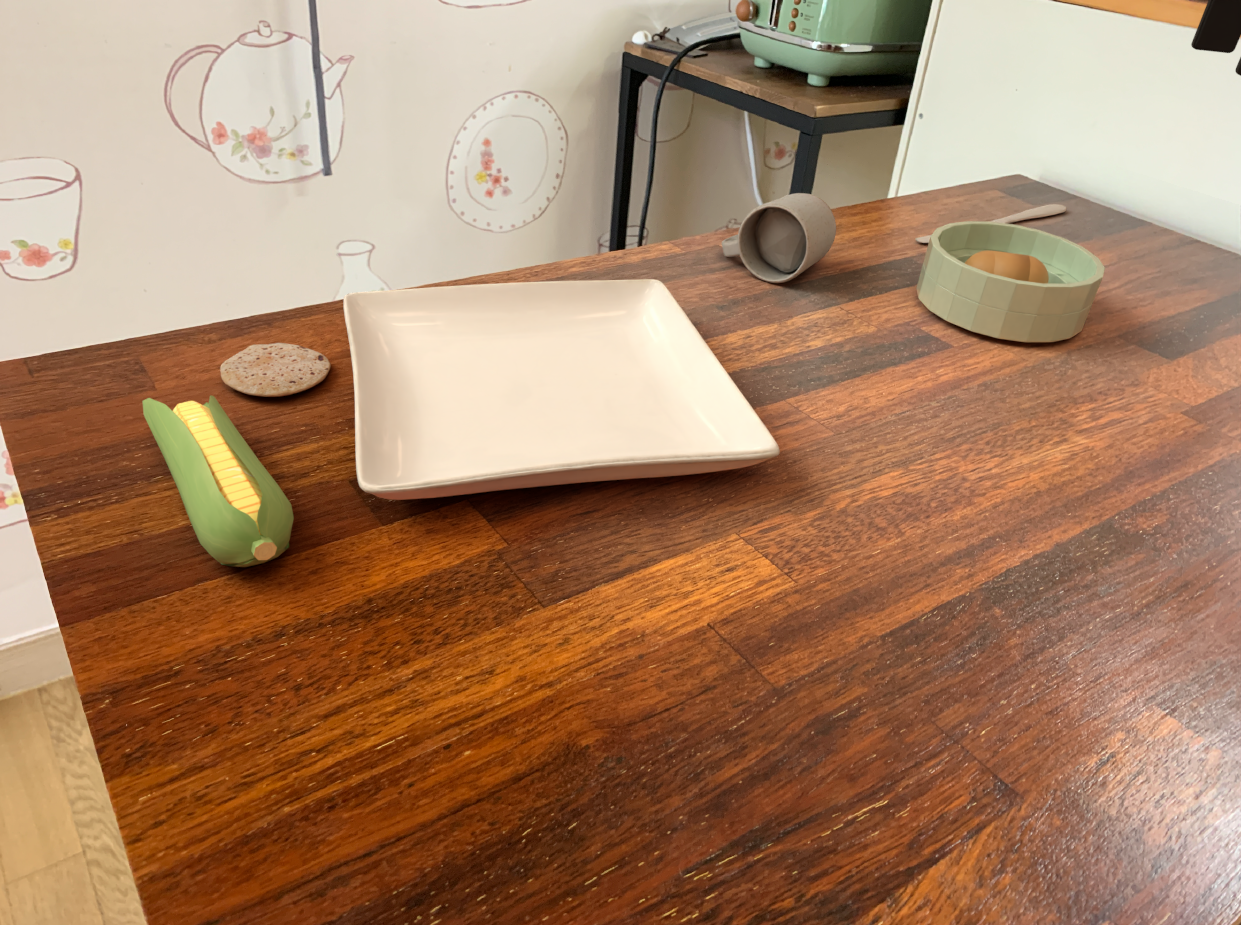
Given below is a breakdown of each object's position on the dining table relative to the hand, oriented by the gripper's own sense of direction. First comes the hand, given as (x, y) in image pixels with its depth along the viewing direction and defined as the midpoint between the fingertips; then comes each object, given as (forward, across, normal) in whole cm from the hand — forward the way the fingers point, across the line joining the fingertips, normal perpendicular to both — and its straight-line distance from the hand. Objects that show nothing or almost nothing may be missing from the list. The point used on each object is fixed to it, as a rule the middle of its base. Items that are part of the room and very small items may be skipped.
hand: (1233, 63), depth 72 cm
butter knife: (+24, +28, +6) cm, 38 cm away
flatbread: (+24, -27, +68) cm, 77 cm away
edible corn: (+24, -41, +65) cm, 81 cm away
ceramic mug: (+24, +7, +32) cm, 41 cm away
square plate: (+24, -25, +48) cm, 59 cm away
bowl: (+24, +4, +10) cm, 27 cm away
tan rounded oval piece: (+24, +4, +10) cm, 26 cm away
